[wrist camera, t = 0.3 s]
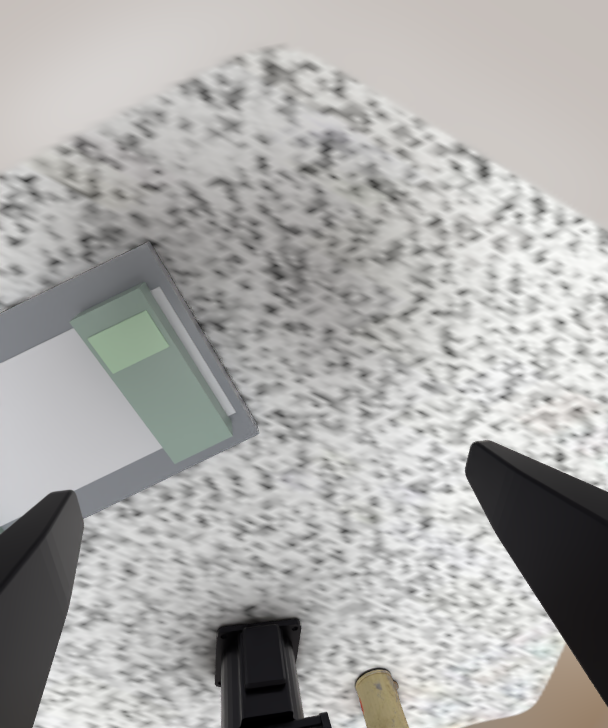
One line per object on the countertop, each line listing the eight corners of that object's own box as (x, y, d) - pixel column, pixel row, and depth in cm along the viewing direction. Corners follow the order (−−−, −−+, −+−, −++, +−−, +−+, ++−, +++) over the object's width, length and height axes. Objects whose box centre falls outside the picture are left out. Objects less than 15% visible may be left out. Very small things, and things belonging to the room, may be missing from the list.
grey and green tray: (257, 425, 25) (261, 449, 23) (-36, 567, 25) (-63, 605, 23) (149, 241, 20) (139, 247, 18) (-219, 418, 20) (-278, 449, 18)
